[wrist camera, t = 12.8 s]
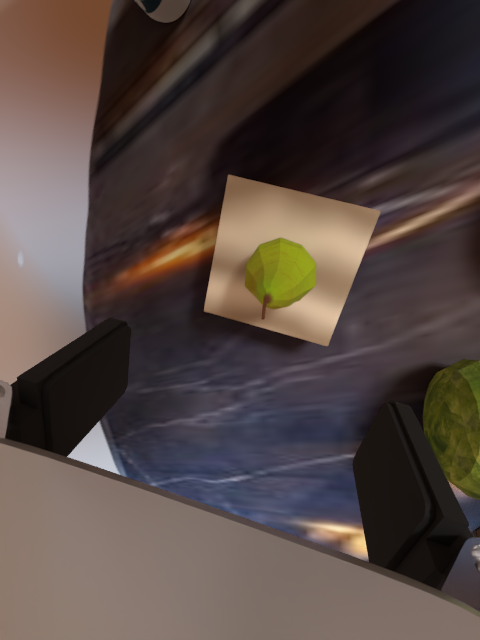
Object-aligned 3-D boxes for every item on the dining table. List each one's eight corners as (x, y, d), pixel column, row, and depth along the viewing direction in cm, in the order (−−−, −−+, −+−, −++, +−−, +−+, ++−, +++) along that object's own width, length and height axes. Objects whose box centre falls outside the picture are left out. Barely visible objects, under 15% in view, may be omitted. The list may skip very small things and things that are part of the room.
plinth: (238, 177, 32) (228, 174, 27) (369, 208, 31) (380, 210, 26) (215, 297, 38) (203, 311, 33) (324, 327, 36) (327, 346, 32)
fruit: (315, 232, 28) (323, 256, 17) (314, 295, 30) (320, 352, 19) (248, 235, 29) (215, 260, 18) (252, 296, 31) (224, 350, 21)
